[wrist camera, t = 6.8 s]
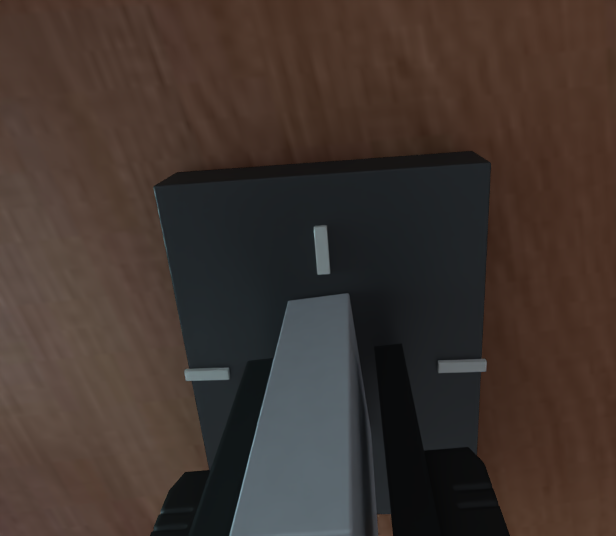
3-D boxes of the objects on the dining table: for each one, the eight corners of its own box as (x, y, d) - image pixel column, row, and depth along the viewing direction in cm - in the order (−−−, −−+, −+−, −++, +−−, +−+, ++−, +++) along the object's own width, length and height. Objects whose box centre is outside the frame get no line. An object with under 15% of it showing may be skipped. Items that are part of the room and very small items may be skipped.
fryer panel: (464, 471, 19) (478, 518, 17) (227, 474, 20) (213, 519, 18) (476, 150, 15) (497, 163, 13) (172, 172, 15) (146, 187, 13)
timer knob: (371, 432, 16) (394, 762, 8) (316, 437, 16) (289, 762, 9) (349, 292, 14) (353, 546, 7) (287, 300, 14) (223, 554, 7)
